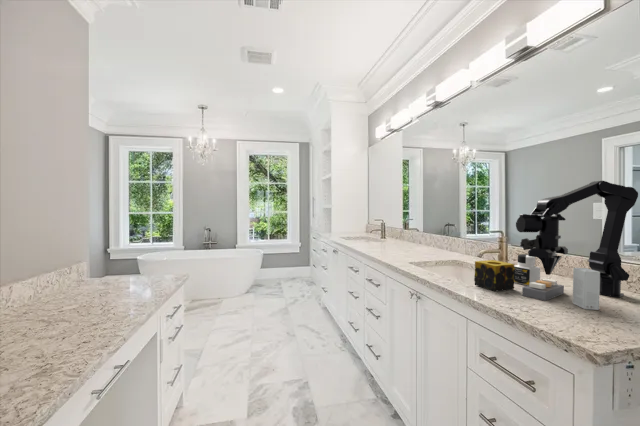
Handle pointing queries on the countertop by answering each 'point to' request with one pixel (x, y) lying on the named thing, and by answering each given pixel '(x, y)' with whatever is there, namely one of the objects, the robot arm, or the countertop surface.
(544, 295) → the block
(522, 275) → the medicine bottle
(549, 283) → the middle paddle
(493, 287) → the yellow and black cube
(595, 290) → the skincare box
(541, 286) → the block
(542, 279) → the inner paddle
